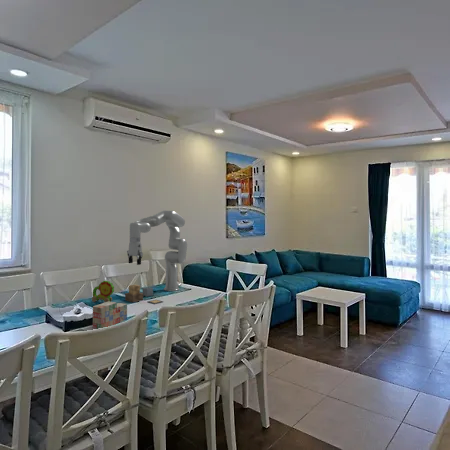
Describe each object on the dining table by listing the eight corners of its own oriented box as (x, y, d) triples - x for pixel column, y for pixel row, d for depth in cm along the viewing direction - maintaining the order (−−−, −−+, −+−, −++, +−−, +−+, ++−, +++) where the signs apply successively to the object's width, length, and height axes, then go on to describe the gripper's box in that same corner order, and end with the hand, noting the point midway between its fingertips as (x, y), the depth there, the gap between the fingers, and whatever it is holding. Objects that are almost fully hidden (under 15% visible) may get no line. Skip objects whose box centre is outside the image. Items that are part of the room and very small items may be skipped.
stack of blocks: (118, 318, 217) (119, 297, 216) (127, 319, 214) (127, 299, 214) (92, 328, 197) (92, 306, 197) (101, 330, 195) (101, 307, 194)
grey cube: (148, 294, 278) (148, 287, 278) (152, 295, 275) (152, 288, 275) (142, 295, 274) (142, 288, 274) (147, 296, 271) (147, 289, 270)
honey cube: (135, 292, 263) (135, 284, 263) (139, 293, 259) (139, 285, 259) (128, 293, 259) (128, 285, 258) (133, 294, 255) (133, 286, 255)
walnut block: (135, 298, 265) (135, 291, 265) (143, 300, 260) (143, 293, 259) (125, 300, 258) (125, 293, 258) (132, 302, 253) (132, 295, 253)
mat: (156, 300, 261) (156, 299, 261) (163, 302, 255) (163, 301, 255) (147, 302, 254) (147, 301, 254) (154, 304, 249) (154, 303, 249)
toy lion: (91, 301, 252) (91, 280, 251) (95, 300, 257) (96, 279, 256) (110, 304, 247) (111, 282, 247) (115, 302, 253) (115, 280, 252)
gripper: (146, 240, 255) (146, 264, 256) (132, 238, 266) (131, 262, 267) (138, 241, 249) (137, 265, 250) (123, 239, 260) (123, 263, 261)
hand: (134, 263), depth 258 cm, fingers open, 9 cm apart
